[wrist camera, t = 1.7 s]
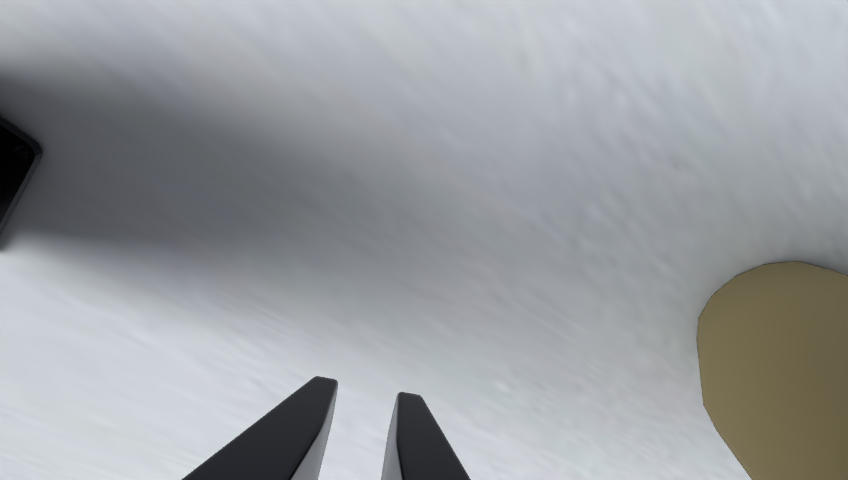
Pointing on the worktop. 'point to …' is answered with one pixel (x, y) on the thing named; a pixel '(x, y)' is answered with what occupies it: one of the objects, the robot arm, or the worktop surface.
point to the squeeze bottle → (779, 370)
